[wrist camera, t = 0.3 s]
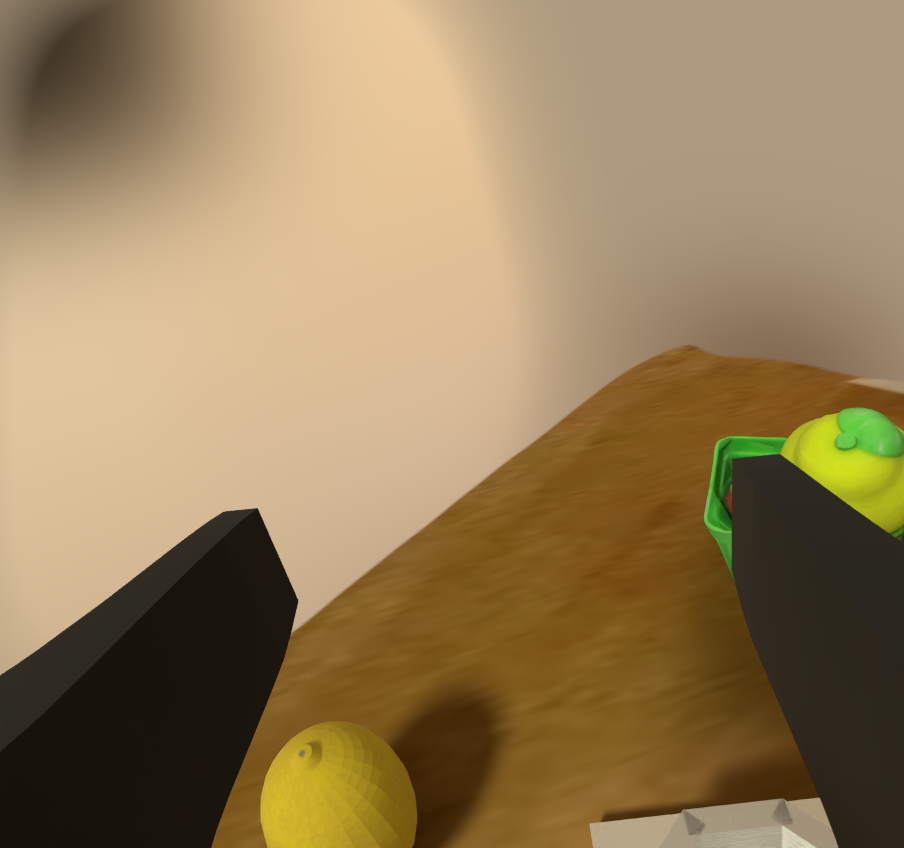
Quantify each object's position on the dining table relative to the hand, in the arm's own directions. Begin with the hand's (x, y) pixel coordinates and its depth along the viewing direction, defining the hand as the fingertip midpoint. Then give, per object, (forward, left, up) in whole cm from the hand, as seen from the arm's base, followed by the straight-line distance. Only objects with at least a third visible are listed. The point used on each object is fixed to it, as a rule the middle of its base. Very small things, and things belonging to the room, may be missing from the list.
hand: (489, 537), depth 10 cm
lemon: (+5, +10, -21) cm, 24 cm away
